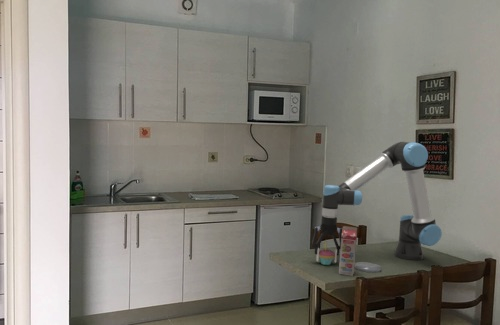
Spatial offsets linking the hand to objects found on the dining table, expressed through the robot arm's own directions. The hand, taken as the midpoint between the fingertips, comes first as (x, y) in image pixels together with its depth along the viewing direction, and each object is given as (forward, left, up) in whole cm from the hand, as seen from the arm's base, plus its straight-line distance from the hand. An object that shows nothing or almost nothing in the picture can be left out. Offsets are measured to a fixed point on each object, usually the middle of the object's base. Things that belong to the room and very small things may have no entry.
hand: (326, 261), depth 230 cm
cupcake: (0, 0, -1) cm, 1 cm away
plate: (-20, +3, -1) cm, 20 cm away
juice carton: (-8, +13, -2) cm, 15 cm away
